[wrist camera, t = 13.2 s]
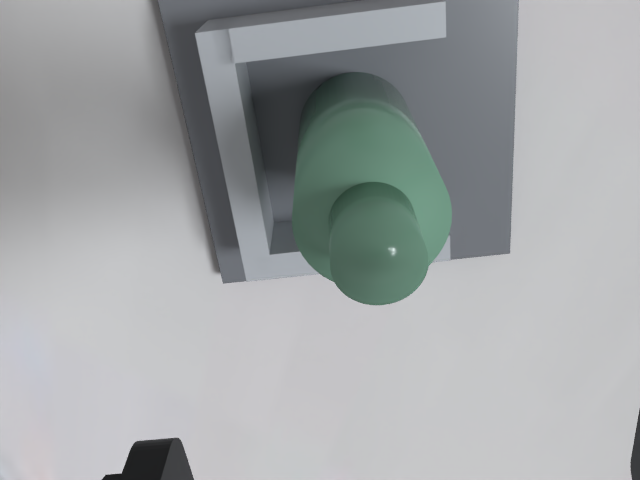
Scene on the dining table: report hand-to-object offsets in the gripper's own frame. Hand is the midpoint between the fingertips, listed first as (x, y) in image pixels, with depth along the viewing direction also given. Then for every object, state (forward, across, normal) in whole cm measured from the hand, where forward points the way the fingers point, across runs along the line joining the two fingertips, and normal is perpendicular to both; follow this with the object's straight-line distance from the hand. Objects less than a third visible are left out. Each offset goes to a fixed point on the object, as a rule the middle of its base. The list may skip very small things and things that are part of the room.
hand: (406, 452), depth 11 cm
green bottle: (+18, 0, 0) cm, 18 cm away
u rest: (+19, 0, 0) cm, 19 cm away
